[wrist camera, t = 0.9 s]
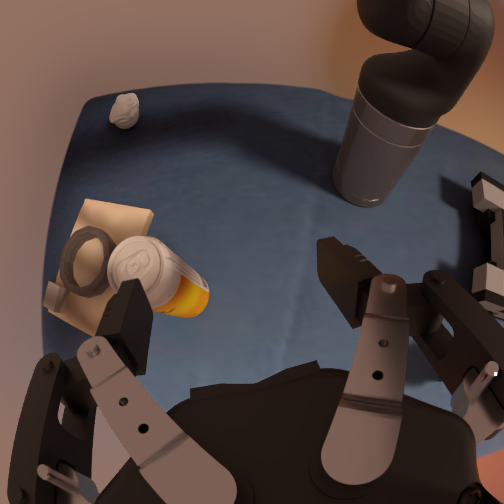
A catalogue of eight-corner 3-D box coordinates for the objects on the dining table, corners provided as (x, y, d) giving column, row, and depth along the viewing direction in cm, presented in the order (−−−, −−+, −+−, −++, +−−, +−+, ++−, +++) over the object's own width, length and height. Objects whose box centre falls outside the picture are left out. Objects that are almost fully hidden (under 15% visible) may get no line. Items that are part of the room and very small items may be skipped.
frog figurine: (153, 114, 46) (140, 89, 39) (129, 139, 44) (114, 115, 37) (134, 109, 47) (121, 86, 40) (112, 133, 45) (96, 111, 39)
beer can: (158, 289, 35) (94, 259, 21) (194, 263, 36) (146, 217, 21) (182, 327, 33) (122, 319, 19) (219, 300, 34) (181, 274, 20)
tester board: (90, 202, 41) (77, 192, 37) (154, 214, 39) (143, 202, 35) (53, 312, 35) (37, 309, 31) (114, 344, 33) (98, 344, 29)
